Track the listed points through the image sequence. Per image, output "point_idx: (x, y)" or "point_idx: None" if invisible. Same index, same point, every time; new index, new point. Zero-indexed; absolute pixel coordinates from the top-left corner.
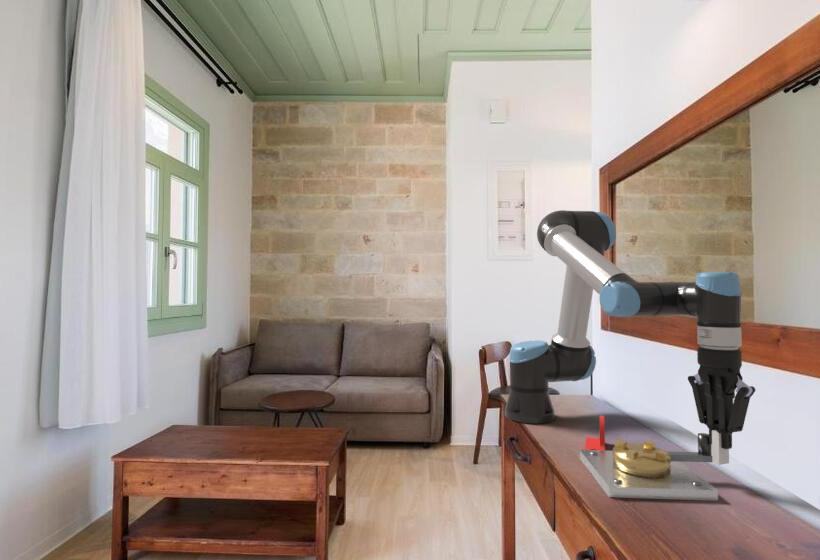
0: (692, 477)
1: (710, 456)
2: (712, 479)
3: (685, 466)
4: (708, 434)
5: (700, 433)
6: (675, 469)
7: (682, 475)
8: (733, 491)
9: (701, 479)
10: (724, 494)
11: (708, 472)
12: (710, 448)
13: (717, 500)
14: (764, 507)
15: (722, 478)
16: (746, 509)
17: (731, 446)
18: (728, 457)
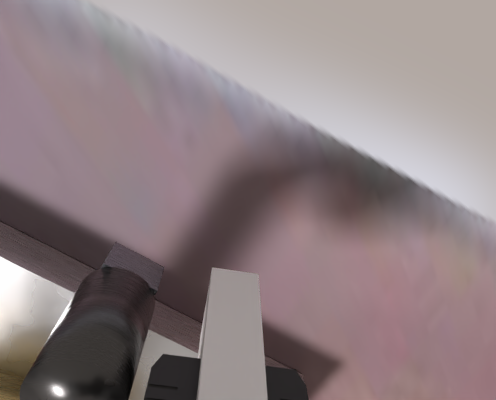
0: None
1: (153, 297)
2: (164, 198)
3: (65, 294)
4: (77, 368)
5: (29, 395)
6: None
7: (141, 395)
8: (289, 246)
9: None
10: (285, 304)
11: (93, 125)
12: (146, 335)
13: (302, 378)
14: (429, 286)
15: (178, 141)
16: (393, 354)
17: (303, 388)
18: (259, 300)
